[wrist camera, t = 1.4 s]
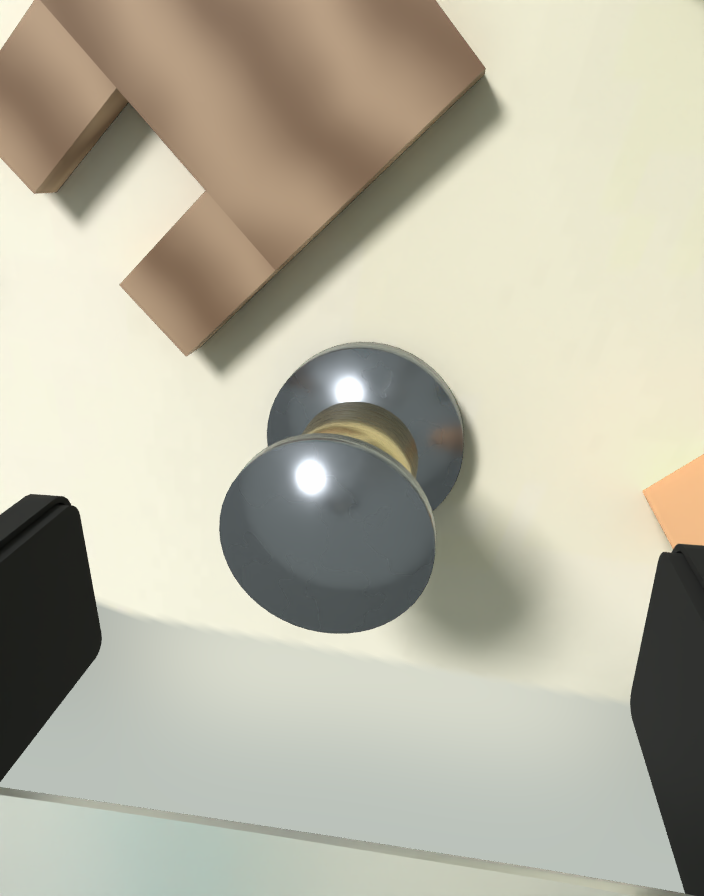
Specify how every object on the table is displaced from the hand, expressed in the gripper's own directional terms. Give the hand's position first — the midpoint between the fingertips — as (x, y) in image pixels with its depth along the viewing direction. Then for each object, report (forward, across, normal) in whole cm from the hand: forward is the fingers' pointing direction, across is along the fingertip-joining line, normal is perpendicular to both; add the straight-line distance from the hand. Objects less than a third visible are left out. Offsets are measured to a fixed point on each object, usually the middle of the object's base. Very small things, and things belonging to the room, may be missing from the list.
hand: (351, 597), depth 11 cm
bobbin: (+26, +3, +8) cm, 27 cm away
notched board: (+26, +11, -10) cm, 30 cm away
